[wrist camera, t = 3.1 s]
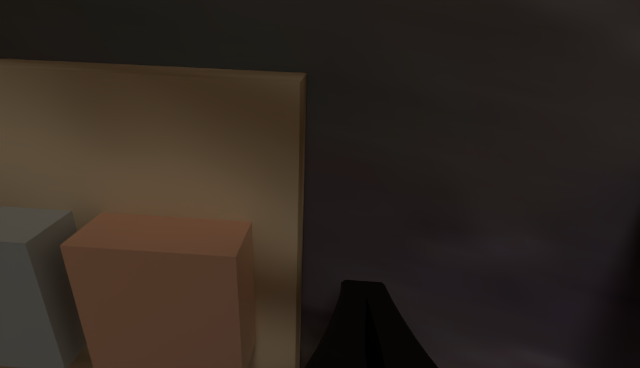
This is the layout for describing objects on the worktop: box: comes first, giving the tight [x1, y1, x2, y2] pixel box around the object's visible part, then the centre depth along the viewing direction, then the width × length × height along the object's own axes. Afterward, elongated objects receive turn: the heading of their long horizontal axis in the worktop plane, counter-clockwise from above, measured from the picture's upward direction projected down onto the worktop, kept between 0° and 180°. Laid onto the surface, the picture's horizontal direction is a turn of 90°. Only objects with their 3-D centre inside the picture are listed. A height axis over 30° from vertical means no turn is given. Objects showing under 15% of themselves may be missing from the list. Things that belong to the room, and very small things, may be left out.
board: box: [0, 59, 307, 368], centre depth 14 cm, size 14×14×2 cm
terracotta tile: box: [60, 212, 256, 368], centre depth 12 cm, size 5×5×2 cm
